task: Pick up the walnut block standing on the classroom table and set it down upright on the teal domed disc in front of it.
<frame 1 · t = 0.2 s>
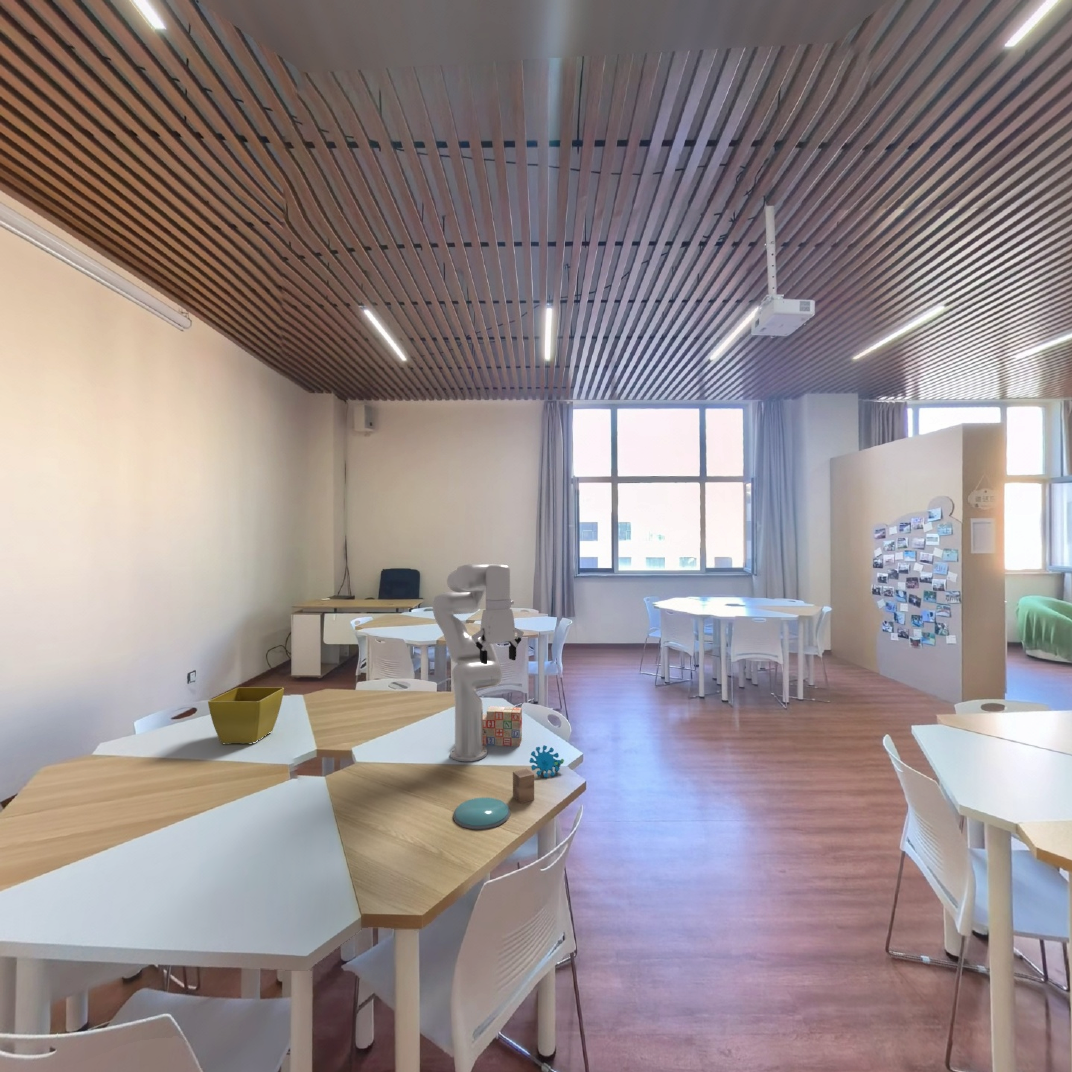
hand: (498, 661, 159), 36 cm above the table, tool pointing down, fingers open, 9 cm apart
spiky teal germ figurine: (546, 774, 165), on the table
walnut block: (523, 797, 148), on the table
flower pot: (247, 739, 197), on the table
stack of blocks: (492, 743, 192), on the table
teal domed disc: (481, 814, 139), on the table
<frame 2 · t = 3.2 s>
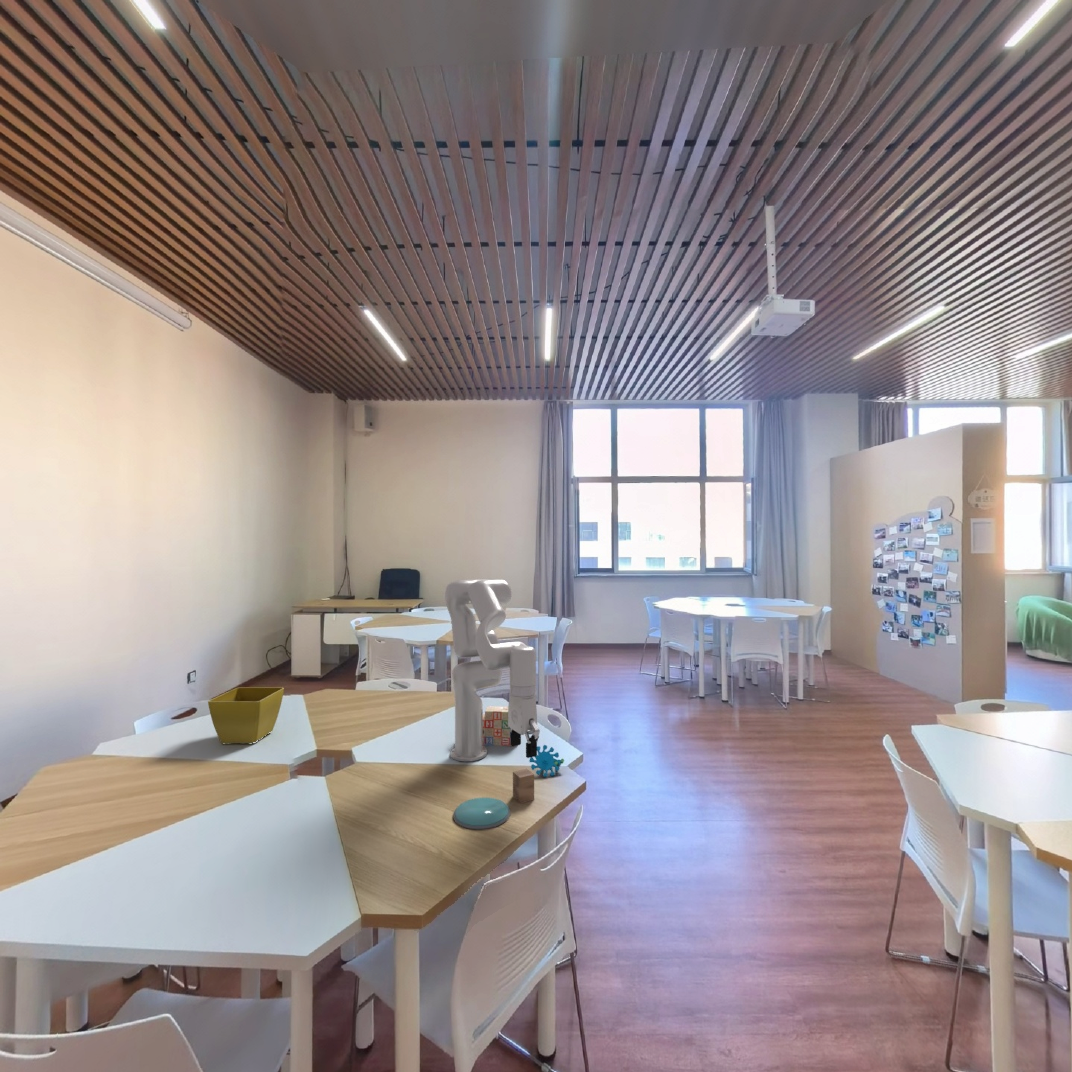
hand: (523, 750, 149), 13 cm above the table, tool pointing down, fingers open, 9 cm apart
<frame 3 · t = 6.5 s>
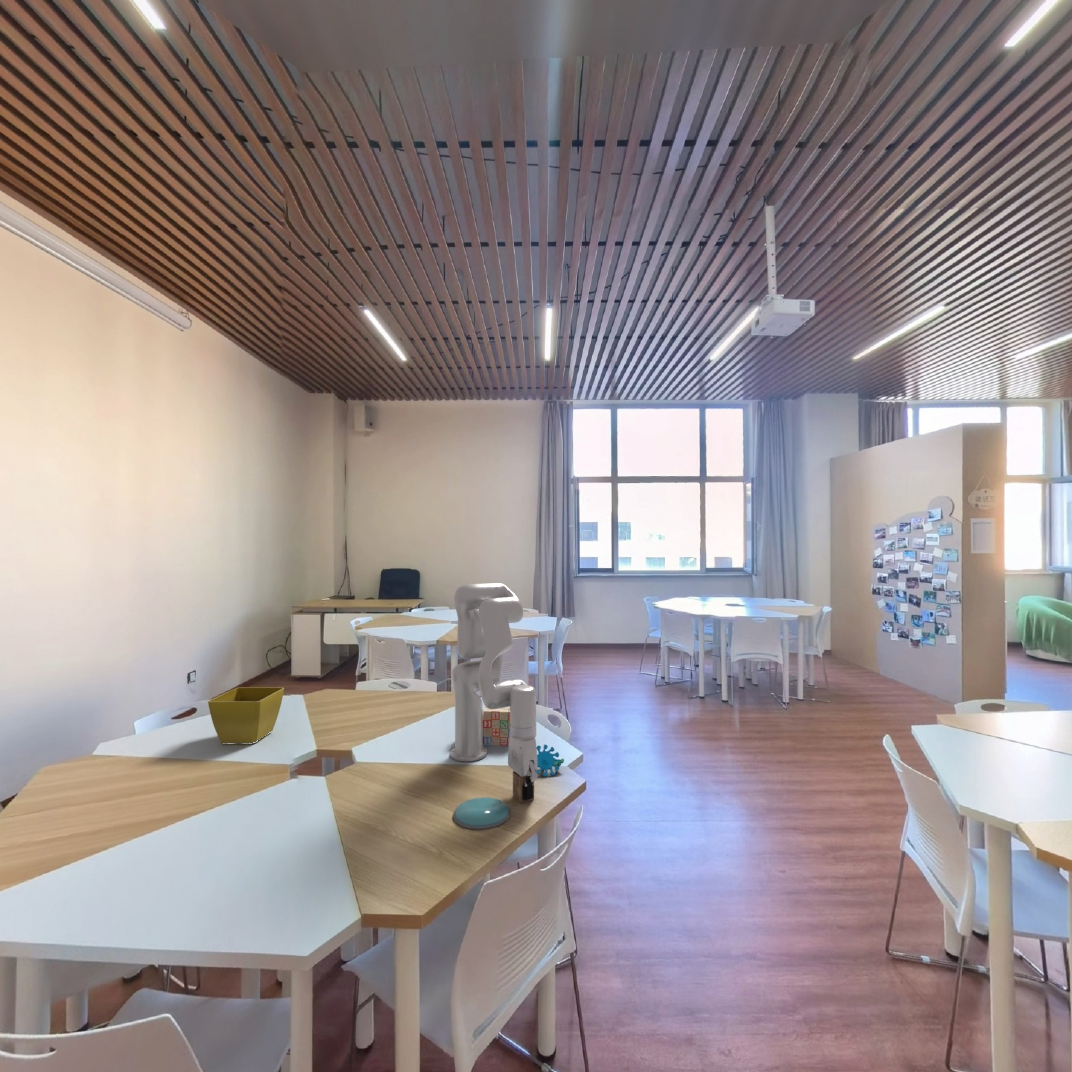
hand: (523, 794, 148), 1 cm above the table, tool pointing down, fingers closed on walnut block, 4 cm apart
walnut block: (523, 797, 148), on the table, touching gripper
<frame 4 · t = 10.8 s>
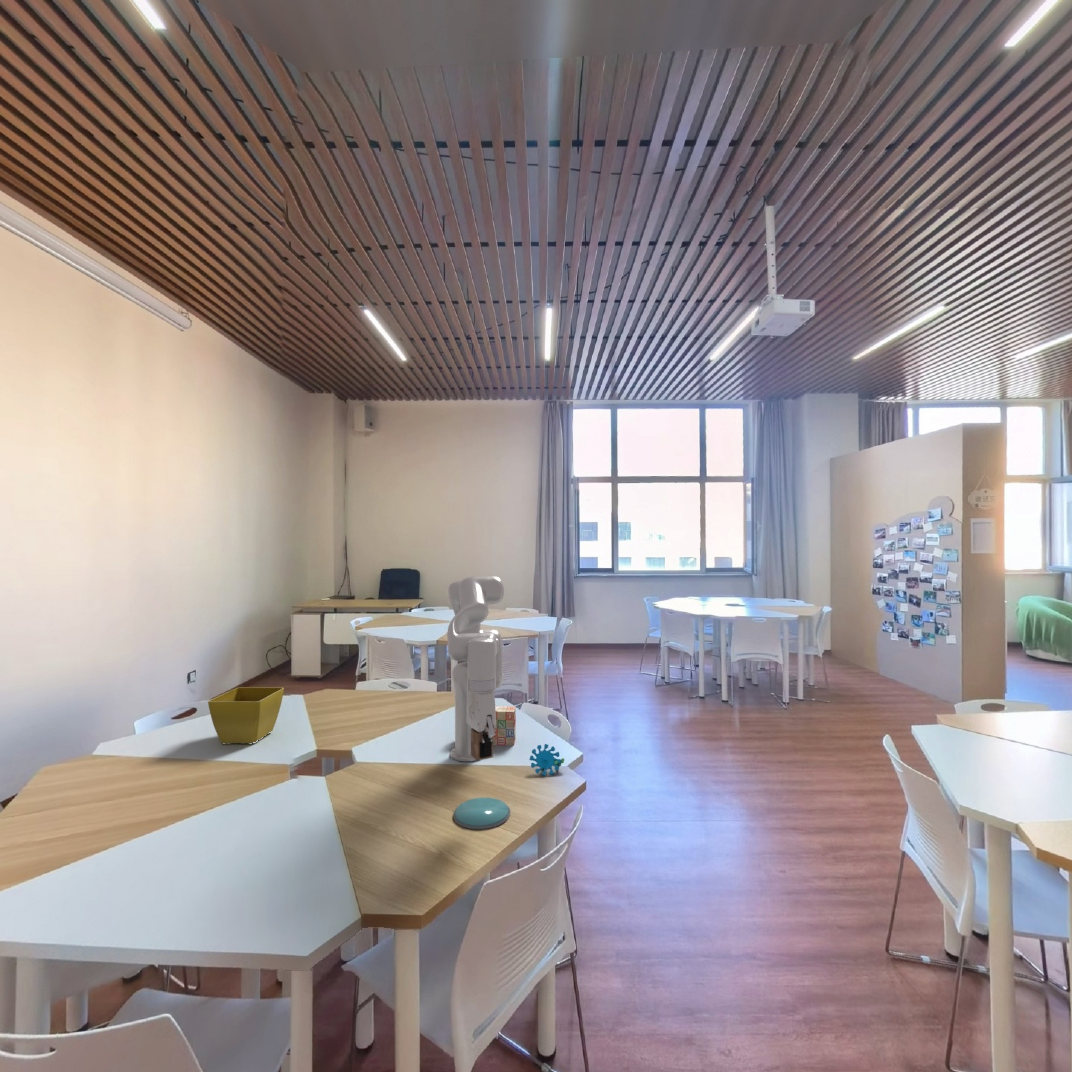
hand: (481, 752, 139), 16 cm above the table, tool pointing down, fingers closed on walnut block, 4 cm apart
walnut block: (481, 756, 139), point 15 cm above the table, touching gripper
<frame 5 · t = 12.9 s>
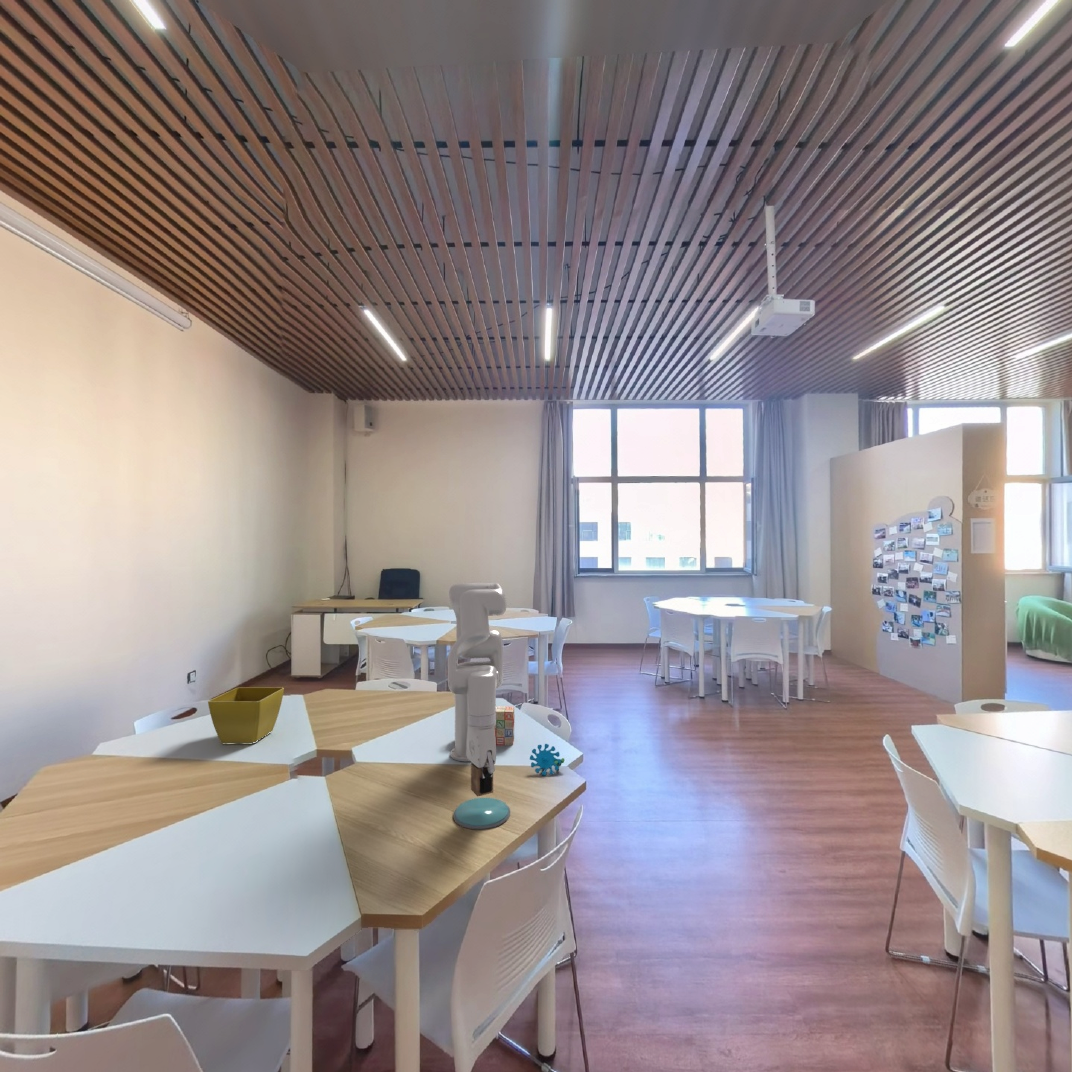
hand: (481, 787, 139), 7 cm above the table, tool pointing down, fingers closed on walnut block, 4 cm apart
walnut block: (482, 791, 139), point 6 cm above the table, touching gripper
when the fingers open (3 cm above the table, at t = 14.9 s): walnut block drops 1 cm, resting on teal domed disc.
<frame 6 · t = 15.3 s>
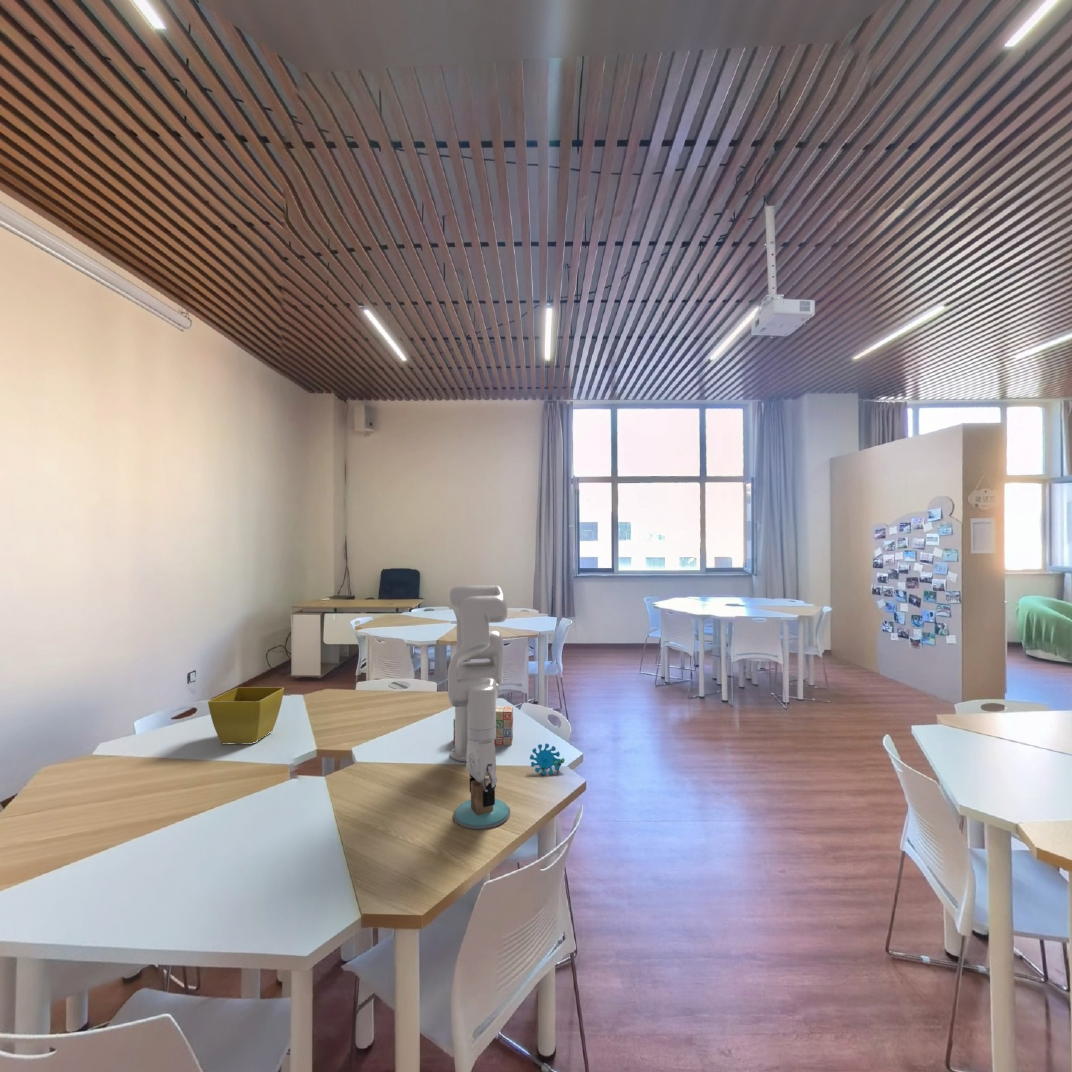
hand: (481, 798, 139), 4 cm above the table, tool pointing down, fingers open, 8 cm apart
walnut block: (481, 809, 139), point 1 cm above the table, touching teal domed disc
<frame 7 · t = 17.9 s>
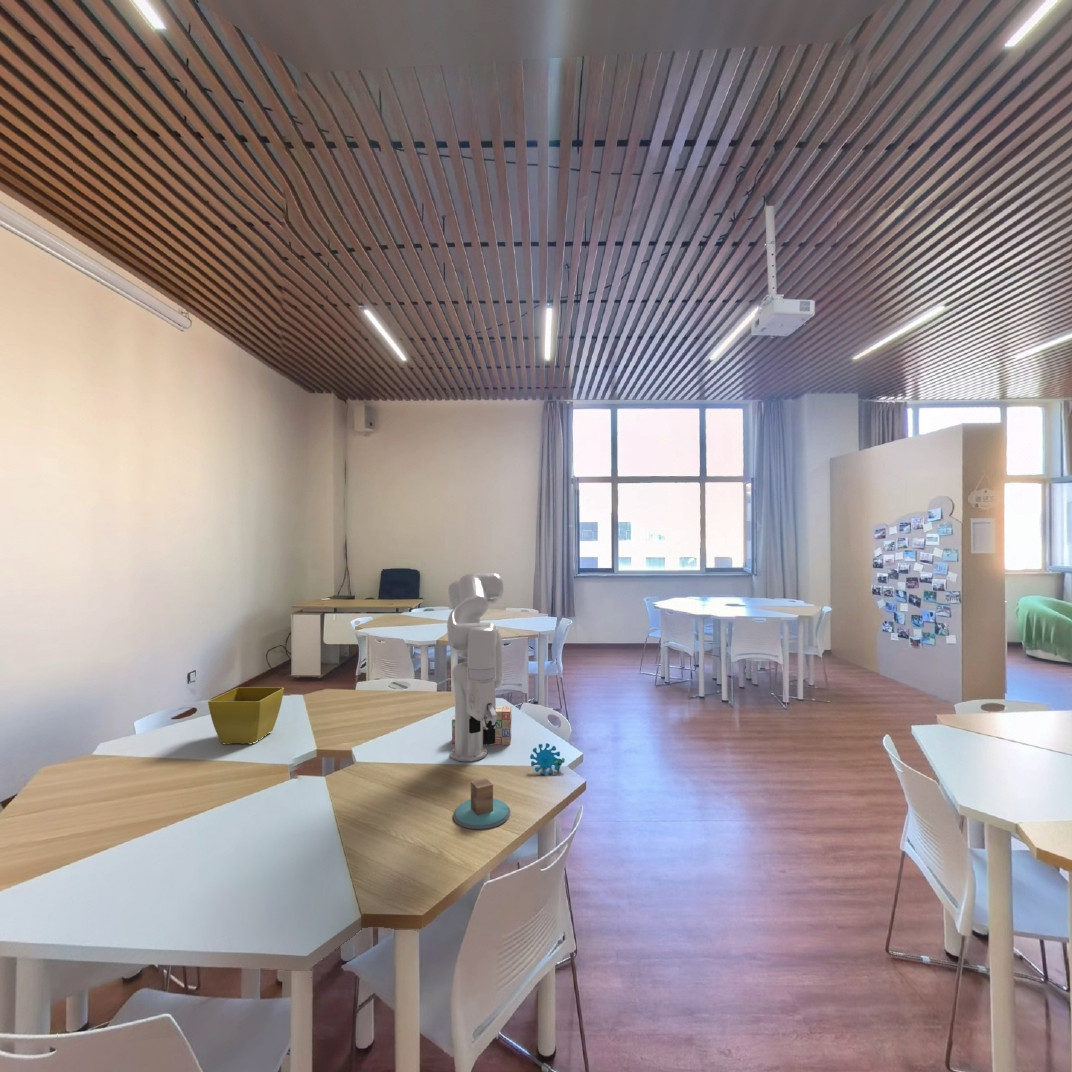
hand: (481, 738, 140), 20 cm above the table, tool pointing down, fingers open, 9 cm apart
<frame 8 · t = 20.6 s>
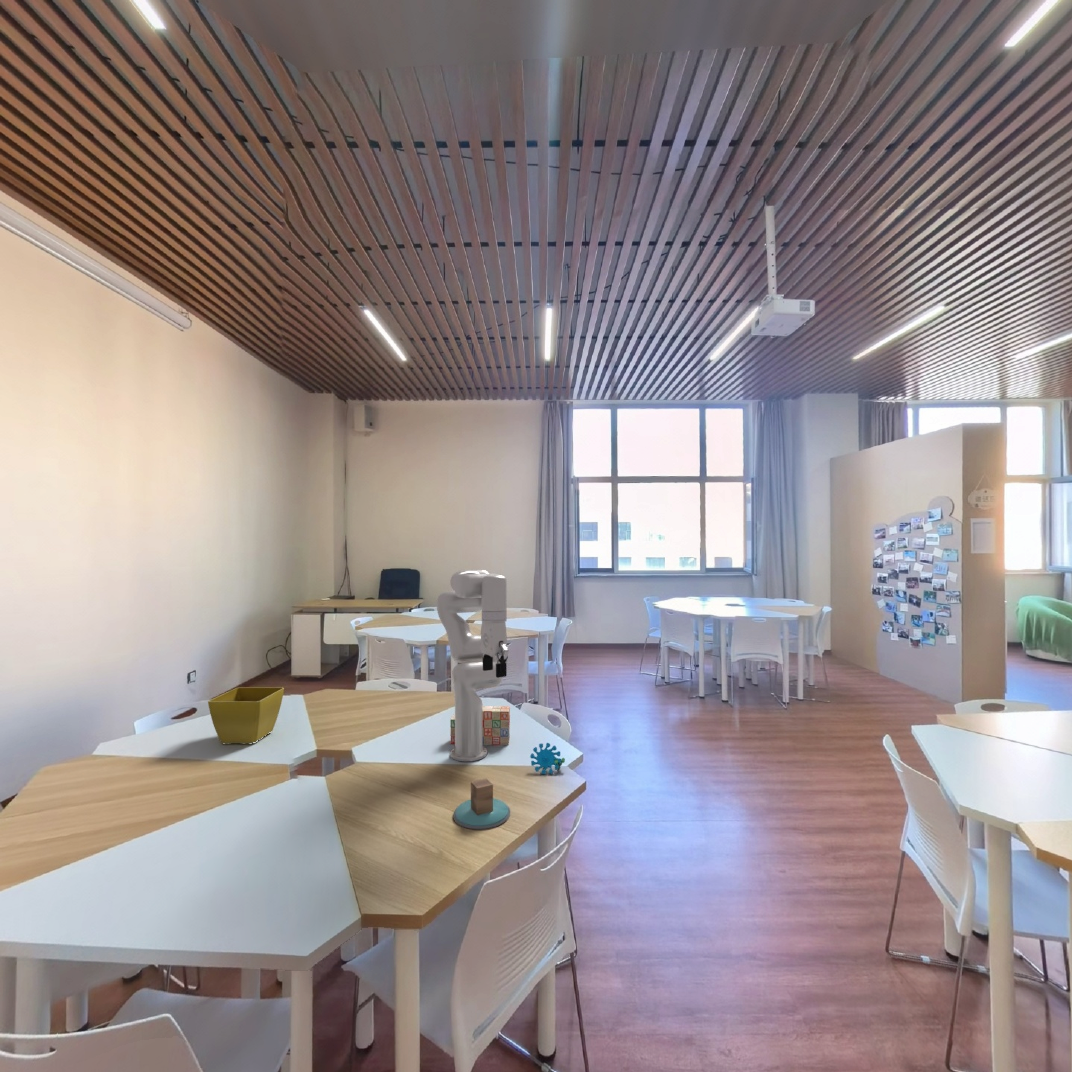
hand: (494, 673, 157), 33 cm above the table, tool pointing down, fingers open, 9 cm apart
at the end: walnut block inside the target area on the teal domed disc (0.1 cm from its centre), point 1.2 cm above the teal domed disc's base; walnut block tilted 0°; the gripper is holding nothing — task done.
